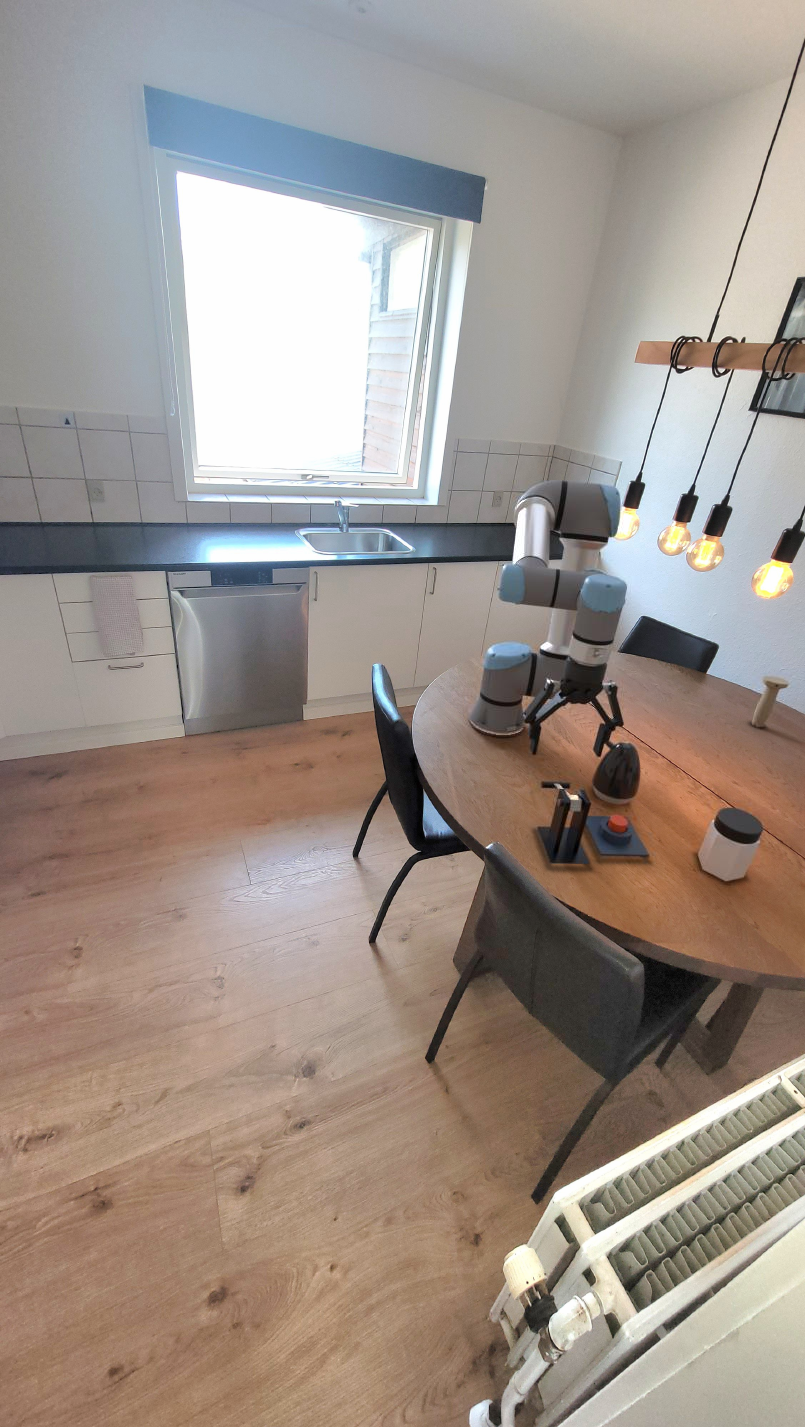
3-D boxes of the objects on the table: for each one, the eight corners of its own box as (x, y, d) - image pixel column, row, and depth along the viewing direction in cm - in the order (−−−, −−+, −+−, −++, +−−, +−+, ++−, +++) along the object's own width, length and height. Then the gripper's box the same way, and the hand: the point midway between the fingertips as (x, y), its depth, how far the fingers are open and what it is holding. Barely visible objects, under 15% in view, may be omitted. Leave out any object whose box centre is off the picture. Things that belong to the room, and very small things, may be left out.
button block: (580, 822, 129) (584, 807, 127) (624, 823, 130) (629, 808, 128) (599, 860, 119) (603, 845, 117) (646, 861, 119) (652, 846, 118)
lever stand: (535, 831, 125) (547, 778, 119) (572, 832, 126) (586, 779, 119) (549, 868, 116) (563, 813, 109) (588, 869, 116) (605, 814, 110)
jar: (749, 868, 120) (771, 822, 114) (737, 888, 114) (759, 841, 109) (704, 845, 125) (723, 800, 119) (690, 864, 120) (709, 818, 114)
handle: (770, 731, 172) (790, 685, 165) (746, 726, 174) (765, 681, 167) (767, 724, 176) (786, 679, 169) (744, 719, 178) (762, 674, 171)
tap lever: (540, 788, 126) (541, 778, 126) (567, 789, 127) (568, 779, 126) (560, 811, 114) (561, 799, 113) (590, 811, 114) (591, 800, 114)
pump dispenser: (597, 779, 144) (612, 726, 137) (639, 798, 139) (657, 743, 131) (580, 798, 137) (595, 742, 130) (623, 818, 131) (641, 761, 124)
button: (605, 822, 124) (607, 814, 123) (621, 822, 124) (624, 814, 123) (611, 833, 121) (613, 825, 120) (628, 833, 121) (630, 826, 120)
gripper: (527, 664, 107) (509, 760, 117) (659, 670, 109) (630, 764, 119) (518, 647, 113) (502, 740, 124) (643, 653, 115) (616, 744, 126)
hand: (564, 752), depth 122 cm, fingers open, 13 cm apart
